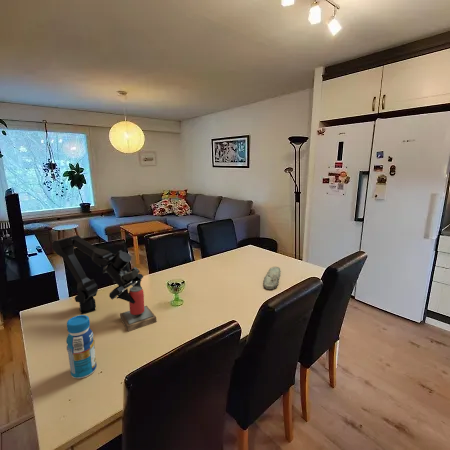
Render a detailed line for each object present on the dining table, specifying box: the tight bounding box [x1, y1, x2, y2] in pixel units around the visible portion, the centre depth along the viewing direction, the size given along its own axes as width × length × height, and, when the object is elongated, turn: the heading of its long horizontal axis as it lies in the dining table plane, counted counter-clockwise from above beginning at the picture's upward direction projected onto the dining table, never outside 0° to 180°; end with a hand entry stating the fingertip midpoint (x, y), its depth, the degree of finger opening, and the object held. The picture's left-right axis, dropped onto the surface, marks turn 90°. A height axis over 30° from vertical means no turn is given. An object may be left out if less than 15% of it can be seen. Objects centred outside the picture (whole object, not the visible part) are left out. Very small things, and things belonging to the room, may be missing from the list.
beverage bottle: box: [65, 314, 97, 379], centre depth 92 cm, size 8×8×20 cm
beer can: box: [128, 286, 145, 315], centre depth 124 cm, size 7×7×12 cm
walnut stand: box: [119, 305, 157, 332], centre depth 126 cm, size 13×13×3 cm
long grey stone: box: [263, 266, 282, 290], centre depth 173 cm, size 35×5×10 cm
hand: (138, 299), depth 123 cm, fingers closed on beer can, 6 cm apart
